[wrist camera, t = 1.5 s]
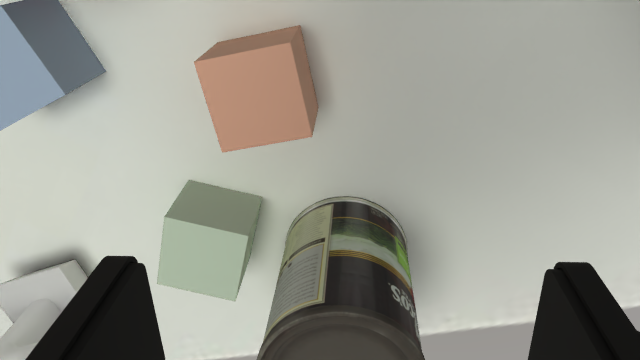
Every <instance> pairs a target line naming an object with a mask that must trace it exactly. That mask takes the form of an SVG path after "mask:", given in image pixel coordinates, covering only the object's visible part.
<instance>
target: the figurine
mask: <svg viewBox="0 0 640 360" xmlns="http://www.w3.org/2000/svg"><path fill="white" fill-rule="evenodd" d="M87 279H88V277H87V276H86V274H85V273H84V271H83V270H82V268H81V267H80V265H79V264H78V262H77V261H76V259H75V260H72V261H68V262H65V263H62V264H58V265H55V266H52V267H49V268H45V269H42V270H39V271H36V272H33V273H30V274H27V275H24V276H21V277H18V278H15V279H13V280H10V281H7V282H4V283H1V284H0V307H1V308H2V309H3V311H4V312H5V313H6V314H7V316H8V317H9V318H10V320H11V321H12V322H13V325H12V326H11V327H10V328H9V329H8V330H7V332H6V333H5V334H4V335H3V336H2V337H1V338H0V360H25V359H26V358H27V357H28V355H29V354H30V353H31V351H32V350H33V349H34V347H35V346H36V345H37V344H38V342H39V341H40V340H41V338H42V337H43V336H44V334H45V333H46V332H47V331H48V329H49V328H50V327H51V325H52V324H53V323H54V322H55V320H56V319H57V318H58V316H59V315H60V314H61V312H62V311H63V310H64V309H65V307H66V306H67V305H68V303H69V302H70V301H71V299H72V298H73V297H74V296H75V294H76V293H77V292H78V290H79V289H80V288H81V286H82V285H83V284H84V283H85V281H86V280H87Z"/></svg>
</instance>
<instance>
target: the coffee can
mask: <svg viewBox="0 0 640 360" xmlns="http://www.w3.org/2000/svg"><path fill="white" fill-rule="evenodd" d="M257 360H425V358H424V355H423V353H422V349H421V342H420V336H419V330H418V323H417V316H416V308H415V303H414V297H413V290H412V283H411V276H410V271H409V264H408V257H407V242H406V238H405V235H404V232H403V230H402V228H401V226H400V225H399V223H398V222H397V221H396V219H395V218H394V217H393V216H392V215H391V214H390V213H389V212H387V211H386V210H385V209H383V208H382V207H381V206H379V205H377V204H375V203H372V202H370V201H367V200H364V199H359V198H353V197H336V198H330V199H326V200H323V201H320V202H318V203H315V204H314V205H312V206H310V207H308V208H307V209H306V210H304V211H303V212H302V213H301V214H300V215H299V216H298V217H297V218H296V219H295V220H294V221H293V223H292V225H291V227H290V229H289V231H288V234H287V237H286V242H285V251H284V255H283V259H282V263H281V268H280V272H279V277H278V280H277V285H276V290H275V294H274V298H273V302H272V307H271V311H270V315H269V319H268V324H267V328H266V332H265V336H264V341H263V344H262V346H261V348H260V351H259V354H258V357H257Z"/></svg>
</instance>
